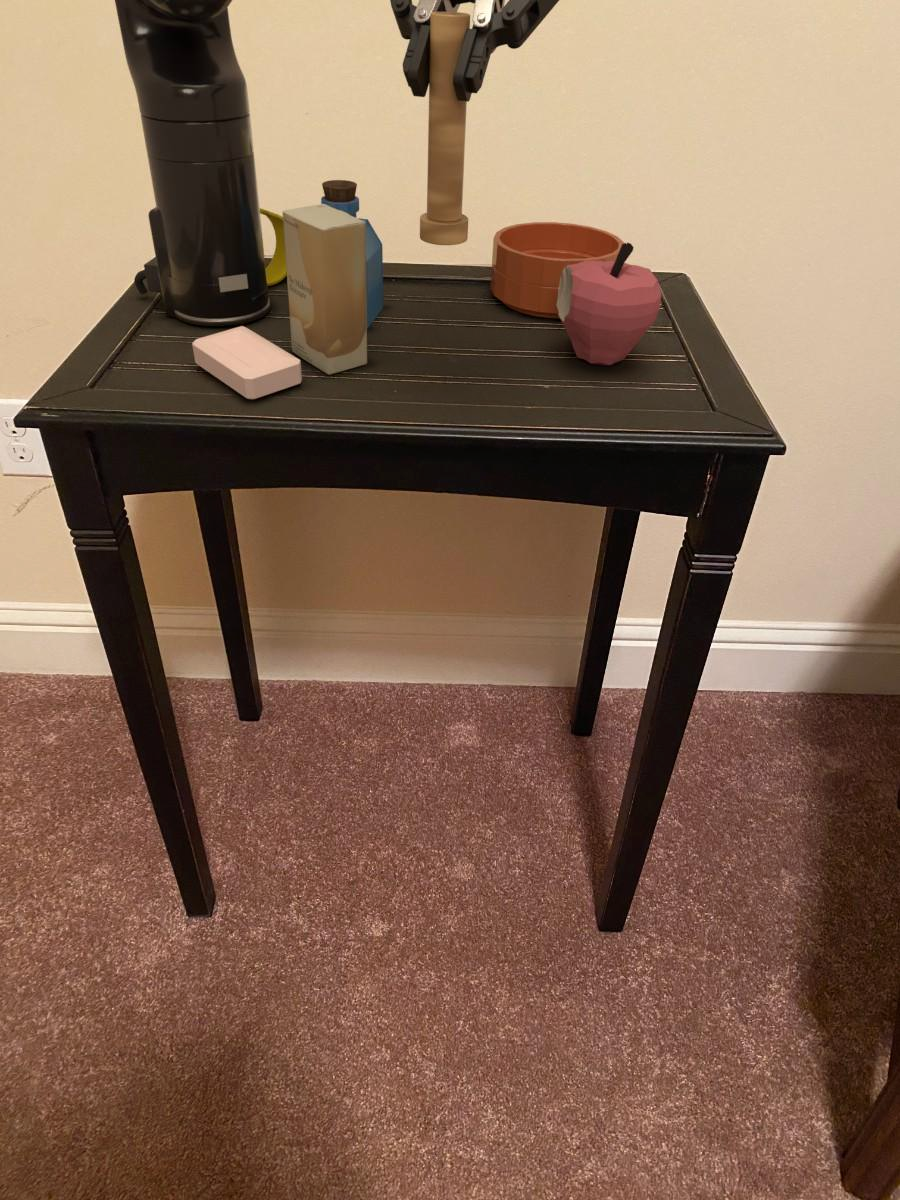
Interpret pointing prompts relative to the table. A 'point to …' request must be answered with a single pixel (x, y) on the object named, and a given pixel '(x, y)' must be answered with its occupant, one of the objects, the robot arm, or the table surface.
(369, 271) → the blue potion bottle
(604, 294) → the apple
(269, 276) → the bracelet
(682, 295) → the table surface
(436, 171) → the stick
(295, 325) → the cosmetic box
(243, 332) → the soap bar
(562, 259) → the bowl
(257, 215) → the robot arm
